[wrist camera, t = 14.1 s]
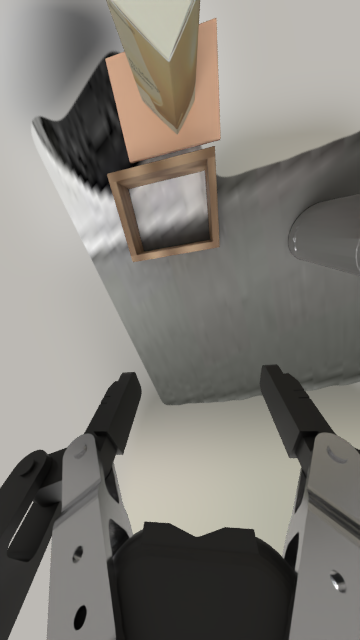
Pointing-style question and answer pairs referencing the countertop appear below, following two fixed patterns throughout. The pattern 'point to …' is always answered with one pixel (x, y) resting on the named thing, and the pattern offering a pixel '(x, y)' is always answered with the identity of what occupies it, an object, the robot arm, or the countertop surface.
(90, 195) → the countertop surface
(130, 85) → the terracotta tile
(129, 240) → the frame
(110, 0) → the skincare box
